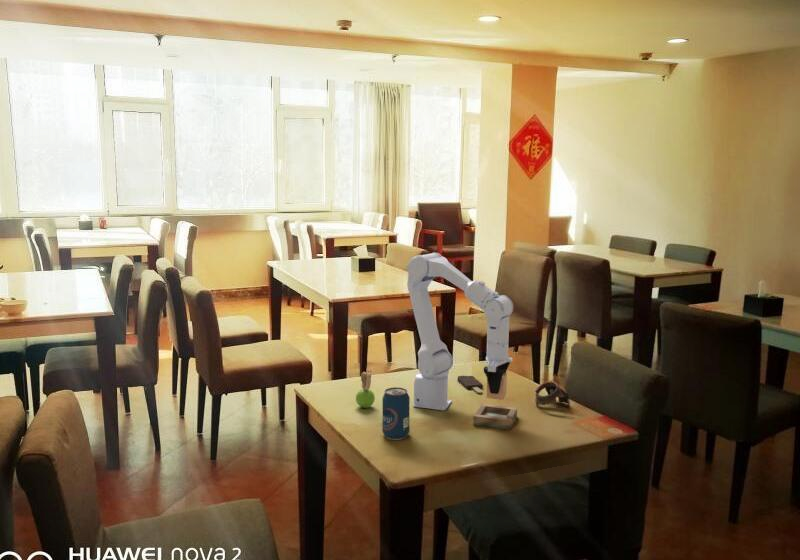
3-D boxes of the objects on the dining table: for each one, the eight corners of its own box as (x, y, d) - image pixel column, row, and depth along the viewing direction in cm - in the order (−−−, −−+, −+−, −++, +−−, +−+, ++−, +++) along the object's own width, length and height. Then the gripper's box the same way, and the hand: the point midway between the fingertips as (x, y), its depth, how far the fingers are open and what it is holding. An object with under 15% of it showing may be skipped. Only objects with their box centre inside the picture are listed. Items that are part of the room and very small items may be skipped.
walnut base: (473, 424, 180) (473, 415, 180) (481, 412, 190) (481, 403, 189) (510, 429, 177) (510, 420, 177) (516, 416, 186) (517, 408, 186)
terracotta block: (486, 397, 181) (487, 376, 180) (490, 392, 185) (490, 371, 184) (503, 399, 179) (503, 378, 178) (506, 394, 184) (506, 373, 183)
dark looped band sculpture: (575, 413, 190) (564, 391, 188) (544, 425, 193) (533, 403, 190) (568, 389, 201) (557, 368, 198) (538, 401, 204) (527, 380, 201)
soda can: (376, 436, 173) (376, 391, 171) (394, 428, 178) (394, 384, 176) (397, 443, 168) (397, 397, 166) (414, 435, 173) (415, 390, 171)
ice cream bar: (488, 394, 206) (471, 379, 220) (488, 389, 205) (471, 374, 220) (472, 395, 204) (456, 380, 219) (472, 390, 204) (456, 375, 218)
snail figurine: (361, 412, 189) (360, 371, 187) (353, 405, 195) (352, 365, 193) (378, 410, 191) (378, 369, 189) (370, 402, 197) (370, 363, 195)
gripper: (507, 349, 172) (505, 400, 174) (517, 336, 185) (515, 383, 187) (480, 347, 174) (479, 397, 176) (492, 334, 187) (490, 381, 190)
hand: (496, 390), depth 182 cm, fingers closed on terracotta block, 4 cm apart
